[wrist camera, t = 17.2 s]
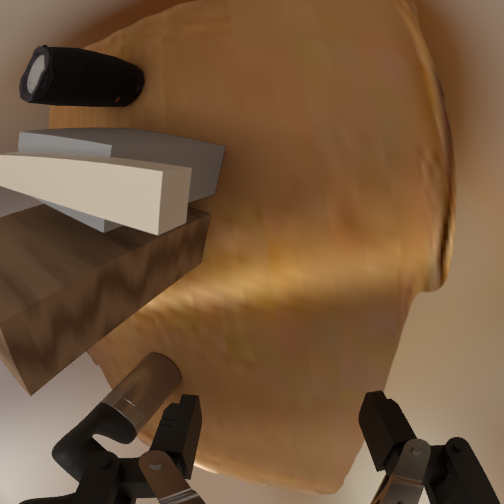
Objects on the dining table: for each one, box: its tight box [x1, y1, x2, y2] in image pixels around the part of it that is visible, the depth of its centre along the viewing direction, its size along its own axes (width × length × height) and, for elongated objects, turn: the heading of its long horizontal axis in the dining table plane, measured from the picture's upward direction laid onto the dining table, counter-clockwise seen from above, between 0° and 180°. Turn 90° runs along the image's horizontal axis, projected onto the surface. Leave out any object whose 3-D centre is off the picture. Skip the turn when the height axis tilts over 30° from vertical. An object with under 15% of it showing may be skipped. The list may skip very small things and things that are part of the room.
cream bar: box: [0, 151, 192, 235], centre depth 18 cm, size 4×26×3 cm, turn 80°
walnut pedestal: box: [0, 204, 210, 396], centre depth 29 cm, size 8×18×32 cm, turn 75°
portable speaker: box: [19, 45, 144, 107], centre depth 29 cm, size 9×9×20 cm
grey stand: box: [18, 128, 226, 233], centre depth 30 cm, size 7×18×21 cm, turn 75°
